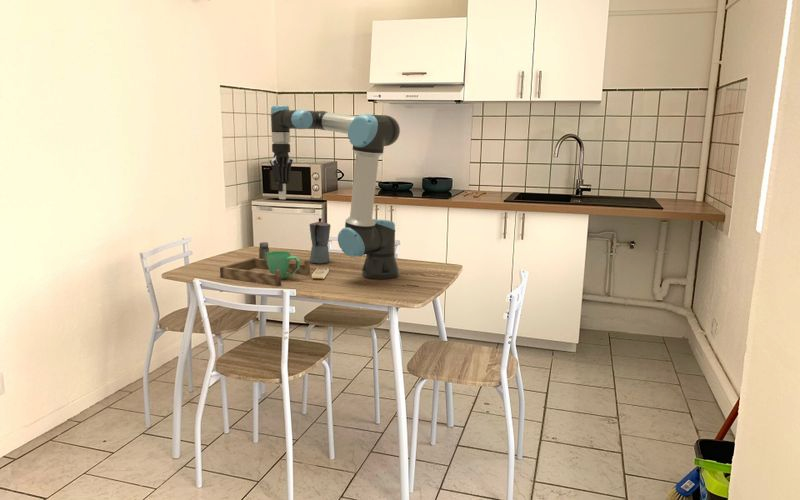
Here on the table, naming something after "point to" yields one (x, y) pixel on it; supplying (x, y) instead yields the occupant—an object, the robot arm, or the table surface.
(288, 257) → the mug
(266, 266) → the bay
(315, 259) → the moka pot
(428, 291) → the table surface
